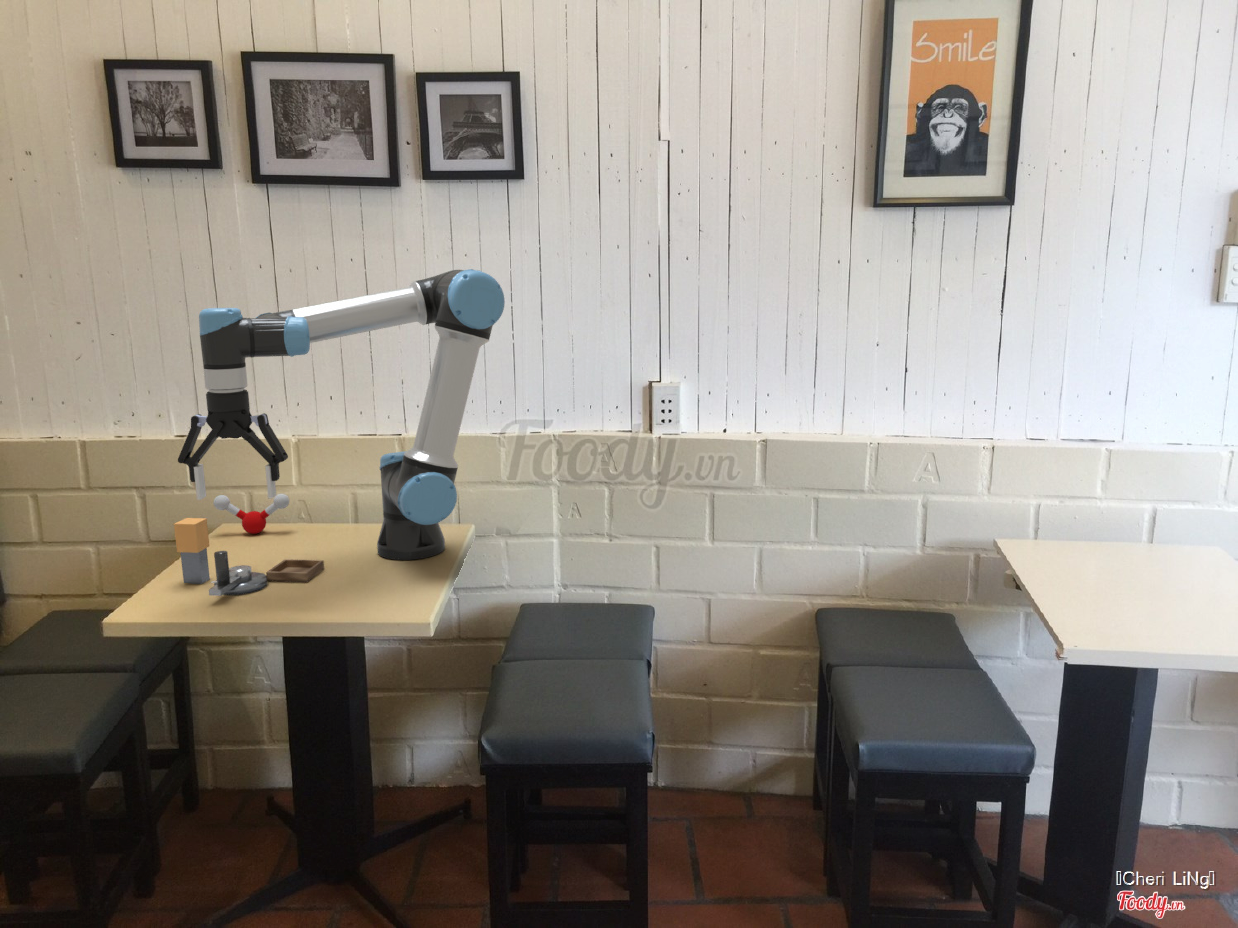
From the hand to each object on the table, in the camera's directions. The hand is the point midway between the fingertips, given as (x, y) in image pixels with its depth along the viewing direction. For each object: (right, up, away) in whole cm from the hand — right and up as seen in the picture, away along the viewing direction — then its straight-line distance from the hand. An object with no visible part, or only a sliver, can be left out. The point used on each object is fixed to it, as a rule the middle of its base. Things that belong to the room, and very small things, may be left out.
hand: (237, 497), depth 184 cm
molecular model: (-14, -11, +46) cm, 49 cm away
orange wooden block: (-13, -11, +10) cm, 20 cm away
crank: (-3, -18, +4) cm, 19 cm away
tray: (+6, -17, +15) cm, 23 cm away
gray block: (-13, -18, +11) cm, 25 cm away
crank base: (-2, -18, +8) cm, 20 cm away
